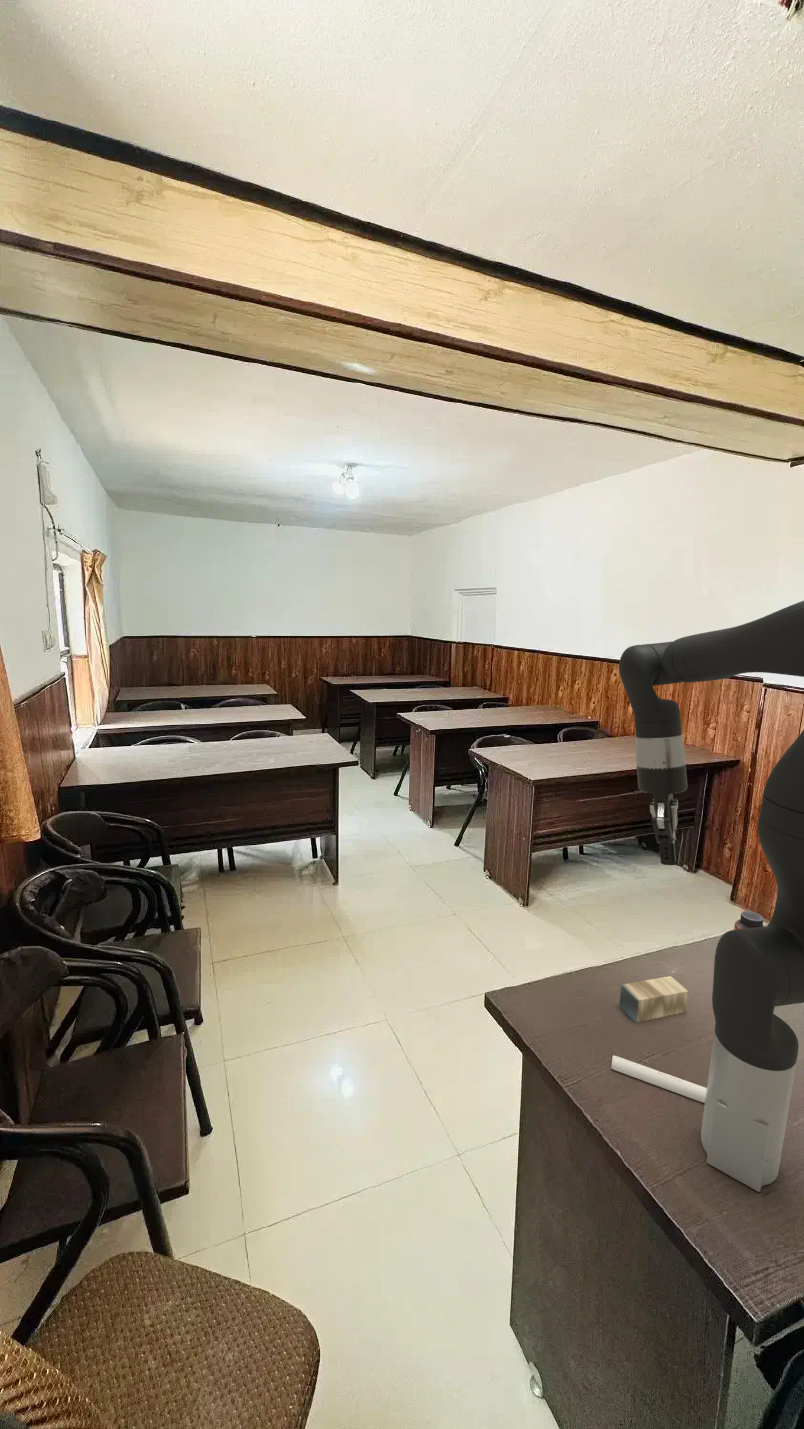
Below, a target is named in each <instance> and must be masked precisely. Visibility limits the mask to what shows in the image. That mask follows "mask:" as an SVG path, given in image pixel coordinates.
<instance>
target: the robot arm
mask: <svg viewBox="0 0 804 1429" xmlns="http://www.w3.org/2000/svg"><path fill="white" fill-rule="evenodd" d="M618 672H619V677H620V680H621V683H622V686H623V687H624V690H625V693H626V696H627V698H628V701H629V703H630V706H631V710H632V712H633V717H634V718H633V719H634V720H633V721H634V730H635V763H636V773H637V788H638V790H639V791H640V792H642V793H644V794H651V795H653V799H651V802H650V803H649V812H650V814H651V819H650V820H651V824H652V828H653V832H654V839H655V841H656V843H657V844H658V845H659V856H660V858H659V859H660V863H661V865H663V866H664V865H665V866H675V865H676V861H677V859H676V858H677V857H676V845H675V844H676V843H675V842H676V839H677V836H676V835H677V833H678V832H677V826H678V822H679V821H678V811H677V810H678V809H679V801H678V799H674V794H681V793H683V792H685V791H687V789H688V777H687V776H688V774H687V764H686V763H687V762H686V752H685V751H686V750H685V746H684V745H685V744H684V741H683V735H682V733H683V732H682V720H681V719H682V718H681V710H680V706H679V704H678V703H677V702H676V701H675V700H673V699H672V700H671V699H666V698H659V696H658V695H657V693H656V690H655V688H654V687H655V686H664V685H671V684H673V685H674V684H678V683H699V682H700V683H701V682H702V683H703V682H711V681H718V680H719V681H720V680H726V679H729V678H732V677H735V676H738V675H741V674H748V673H751V674H752V673H766V674H775V675H776V674H777V675H785V676H794V677H801V678H804V600H802V601H798V602H796V603H794V604H791V605H788V606H786V607H784V608H781V609H779V610H777V611H774V612H771V613H769V614H767V615H765V616H763V617H760V618H758V619H755V620H752V621H749V622H747V623H743V624H741V625H737V626H736V625H735V626H733V627H729V628H728V627H727V628H723V629H717V630H712V631H706V632H702V633H695V634H690V635H687V636H682V637H680V638H677V639H675V640H673V641H664V642H655V643H646V644H645V643H643V644H635V645H632V646H628V647H627V648H626V649H624V651H623V652H622V654H621V656H620V659H619V663H618ZM757 835H758V839H759V843H760V845H761V849H762V851H763V853H764V856H765V858H766V860H767V862H768V864H769V867H770V868H771V871H772V873H773V875H774V877H775V881H776V899H775V905H774V910H773V913H772V916H771V920H770V921H769V923H768V924H767V925H766V926H764V927H755V928H746V929H737V930H734V929H731V930H728V931H726V932H725V933H723V934H722V936H720V939H719V940H718V941H717V945H716V949H715V953H714V962H713V979H712V980H713V981H712V993H711V994H712V995H711V996H712V997H711V999H712V1000H711V1001H712V1002H711V1003H712V1011H713V1015H714V1020H715V1023H714V1024H715V1025H714V1034H713V1040H712V1041H713V1042H712V1049H711V1055H710V1064H709V1070H708V1071H709V1072H708V1078H707V1084H706V1088H707V1091H706V1099H705V1103H704V1105H703V1106H704V1108H703V1115H702V1123H701V1132H700V1141H701V1145H702V1147H703V1150H704V1152H705V1153H706V1163H707V1164H708V1165H710V1166H712V1167H714V1168H715V1169H717V1170H719V1171H721V1172H723V1173H724V1174H726V1175H727V1176H729V1177H731V1178H733V1179H735V1180H736V1181H737V1182H740V1183H742V1184H743V1185H745V1186H747V1187H749V1188H750V1189H752V1190H753V1191H756V1192H758V1193H759V1192H761V1190H762V1187H764V1186H766V1185H767V1186H768V1185H770V1184H772V1183H774V1182H775V1180H776V1179H777V1178H778V1175H779V1170H780V1164H781V1158H782V1152H783V1145H784V1139H785V1133H786V1126H787V1122H788V1115H789V1108H790V1103H791V1096H792V1089H793V1085H794V1078H795V1073H796V1069H797V1068H796V1066H797V1060H798V1054H799V1040H798V1037H797V1034H796V1033H795V1032H794V1030H793V1029H792V1028H791V1026H790V1025H789V1024H788V1023H787V1022H786V1021H785V1020H783V1019H782V1018H781V1017H779V1016H778V1015H776V1014H775V1013H774V1011H775V1008H776V1007H780V1006H790V1005H797V1004H802V1003H804V729H803V730H802V731H801V732H800V734H799V735H798V736H797V737H796V739H795V740H794V741H793V743H792V744H791V745H790V746H789V747H788V748H787V750H786V751H785V752H784V753H783V754H782V756H781V757H780V759H779V760H778V761H777V762H776V764H775V766H774V767H773V768H772V770H771V772H770V774H769V775H768V778H767V780H766V783H765V785H764V790H763V795H762V801H761V804H760V809H759V815H758V820H757Z"/></svg>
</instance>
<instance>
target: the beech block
mask: <svg viewBox="0 0 804 1429" xmlns="http://www.w3.org/2000/svg"><path fill="white" fill-rule="evenodd" d="M688 994H689V991H688V990H687V989H686V988H685V987H684V986H683V985H682V984H680V983H679V982H678V981H677V980H676V979H675V978H673V976H671V975H669V976H663V977H657V978H651V979H646V980H640V981H634V982H630V983H624V984H620V994H619V995H620V996H619V1004H618V1006H619V1008H621V1010H623V1012H625V1014H626V1015H627V1016H628V1017H629V1018H630V1019H631V1020H632V1022H634V1023H640V1022H645V1021H649V1020H650V1019H651V1020H655V1018H656V1019H660V1017H661V1018H664V1017H665V1016H666V1017H670V1016H669V1015H671V1016H675V1015H674V1014H676V1015H679V1013H681V1014H684V1013H686V1010H687V1002H688Z"/></svg>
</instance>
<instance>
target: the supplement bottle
mask: <svg viewBox="0 0 804 1429" xmlns="http://www.w3.org/2000/svg"><path fill="white" fill-rule="evenodd" d="M763 917H764V916H762V915H761V914H759V913H758V912H754V911H751V910H744V911H742V912H741V913H740V919H737V920H736V921H735V922H734V926H733V927H734V928H733V930H737V929H746V928H755V927H765V926H764V918H763Z"/></svg>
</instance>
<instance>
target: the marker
mask: <svg viewBox="0 0 804 1429" xmlns="http://www.w3.org/2000/svg"><path fill="white" fill-rule="evenodd" d="M610 1069H611V1070H614V1071H616V1072H618V1073H621V1074H624V1075H626V1076H629V1077H632V1078H634V1079H638V1080H640V1081H643V1082H646V1083H649V1084H651V1085H653V1086H656V1087H660V1088H661V1089H664V1090H668V1091H670V1092H673V1093H675V1094H679V1095H682V1096H684V1097H687V1098H689V1099H692V1100H695V1101H697V1102H701V1103H702V1104H705V1099H706V1091H707V1087H705V1086H702V1085H699V1084H696V1083H693V1082H690V1081H688V1080H685V1079H683V1078H680V1077H677V1076H674V1075H671V1074H668V1073H665V1072H662V1071H659V1070H658V1069H654V1068H652V1067H649V1066H646V1065H643V1064H640V1063H638V1062H634V1061H631V1060H629V1059H626V1058H623V1057H620V1056H618V1055H612V1060H611V1067H610Z"/></svg>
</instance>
